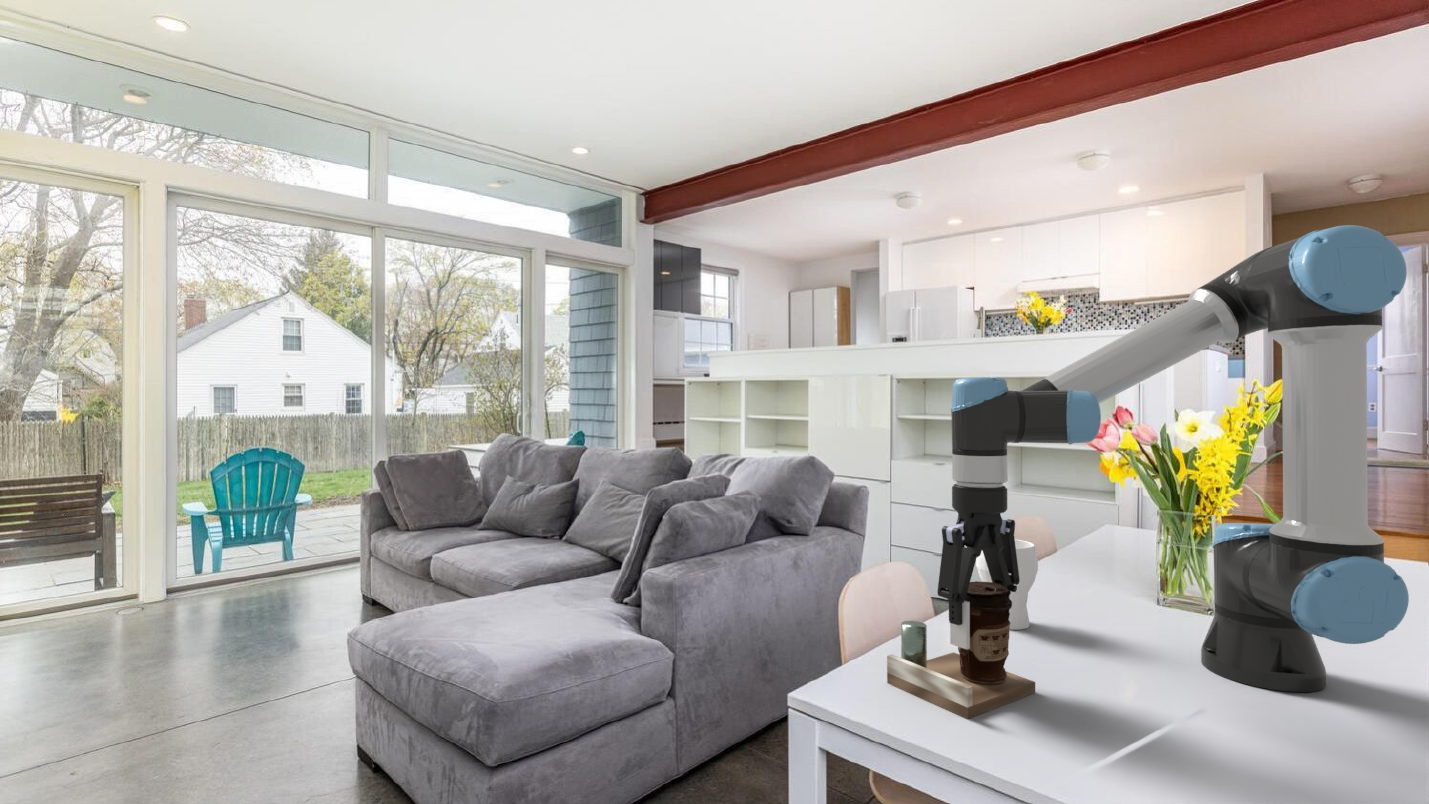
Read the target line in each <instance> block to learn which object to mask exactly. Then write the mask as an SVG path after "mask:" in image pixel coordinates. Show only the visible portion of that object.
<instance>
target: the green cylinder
mask: <svg viewBox="0 0 1429 804" xmlns="http://www.w3.org/2000/svg"><path fill="white" fill-rule="evenodd" d="M900 627H901V628H900V629H901V631H900V632H901V633H900V635H901V637H900V641H901V645H900V646H901V649H900V653H901V655H900V656H901V657H900V658H902V659H905V660H907V661H910V662H912V663H915V664H917V665H920V666H922V667H925V668H927V660H928V657H927V656H928V655H927V654H928V651H927V650H928V649H927V645H928V644H927V642H928V639H927V638H928V637H927V635H928V634H927V632H928V631H927V630H928V629H927V627H928V626H927V624H926V623H924V622H921V621H917V620H904V621H902V622H901V624H900Z"/></svg>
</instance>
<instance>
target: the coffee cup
mask: <svg viewBox="0 0 1429 804" xmlns="http://www.w3.org/2000/svg"><path fill="white" fill-rule="evenodd" d="M958 593H959V591H958ZM1010 594H1011V592H1010V590H1008V588H1007V587H1004V586H1001V585H999V584H996V583H992V582H982V581H976V580H975V581H970V584H969V588H968V591H967V595H966V599H965V601H967V602H970V649H964V648H961V647H958V646H957V650H958V654H960V657H959V660H960V666H961V667H960V671H961V674H962V676H963V677H964V678H966V679H967V680H970V681H973V682H978V683H999V682H1002V681H1004V680H1005V679H1006V677H1007V674H1006V672H1007V671H1006V668H1005V663H1006V660H1007V659H1008V657H1009V654H1010V652H1009V644H1010V643H1009V642H1010V629H1009V628H1010V624H1011V623H1010V621H1009V615H1010V613H1009V609H1010V608H1011V607H1012V601H1011V600H1010V598H1009V596H1010Z"/></svg>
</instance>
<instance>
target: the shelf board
mask: <svg viewBox="0 0 1429 804" xmlns="http://www.w3.org/2000/svg"><path fill="white" fill-rule="evenodd" d="M959 657H960V653H957V652H949V653H946V654H944V655H941V656H937V657H933V658H931V659H927V668H925V667H922V666H920V665H917V664H915V663H912V662H910V661H907V660H905V659H902V658H901V657H900V656H897V655H895V654H893V653H891V654H888V655H886V660H887V661H886V671H887V672H886V674H887V675H886V683H887V684H889V685H892V686H893V687H895V688H899V689H900V690H902V691H905V692H907V693H910V694H911V695H914V696H916V697H918V698H920V699H922V700H925V701H927V702H929V703H932V704H933V705H935V706H938V707H940V708H942V709H945V710H946V711H949V712H951V713H953V714H956V715H958V716H960V717H962V718H965V719H967V720H969V719H971V718H974V717H976V716H979V715H981V714H984V713H986V712H987V713H988V712H989V711H991V710H994V709H996V708H999V707H1002V706H1005V705H1007V704H1009V703H1013V702H1015V701H1018V700H1019V699H1022V698H1025V697H1027V696H1030V695H1033V694H1036V681H1034V680H1031V679H1029V678H1028V679H1027V678H1025V677H1023V676H1019V675H1017V674H1015V673H1012V672H1009V671H1006V674H1007V677H1006V679H1005V680H1004V681H1002V682H999V683H978V682H973V681H970V680H967V679H966V678H964V677H963V676H962V674H961V671H960V667H961V666H960V660H959Z"/></svg>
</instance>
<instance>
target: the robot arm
mask: <svg viewBox="0 0 1429 804" xmlns="http://www.w3.org/2000/svg"><path fill="white" fill-rule="evenodd" d="M1407 270H1408V269H1407V264H1406V260H1405V257H1404V255H1403V253H1402V252H1401V250H1400V248H1399V247H1398V246H1397V244H1396V243H1395V242H1394V241H1393V240H1392V239H1390V238H1387V237H1386V236H1385V235H1383V234H1382V232H1380V231H1378V230H1375V229H1373V228H1370V227H1367V226H1363V225H1362V226H1361V225H1356V224H1355V225H1353V224H1350V225H1349V224H1346V225H1345V224H1344V225H1337V226H1334V227H1330V228H1329V227H1328V228H1326V229H1316V230H1313V231H1311V232H1308V233H1306V234H1304V235H1303V236H1299V237H1297V238H1294V239H1291V240H1289V241H1286V242H1282V243H1279V244H1277V245H1274V246H1273V245H1272V246H1270V247H1267V248H1264V249H1263V250H1260V251H1258V252H1256V253H1254V254H1253V255H1250V256H1249V257H1247V258H1246V259H1243V260H1242V261H1241V262H1239V263H1238V264H1236V265H1234V266H1233V267H1231V268H1229V269H1228V270H1227V271H1225V272H1224V273H1222V274H1220V275H1219V276H1217V277H1215V278H1214V279H1212V280H1210V281H1208V282H1207V283H1205V284H1204V285H1201V286H1199V287H1198V288H1196V289H1195V290H1193V291H1192V292H1190V294H1189V297H1188V301H1186V302H1184V303H1182V304H1180V305H1179V306H1177V307H1175V308H1173V309H1171V310H1169V311H1167V312H1165V313H1164V314H1162V315H1160V316H1158V317H1156V318H1155V319H1152V320H1150V321H1149V322H1147V323H1145V324H1143V325H1141V326H1140V327H1137V328H1136V329H1134V330H1132V331H1130V332H1128V333H1126V334H1125V335H1123V336H1121V337H1119V338H1117V339H1115V340H1114V341H1112V342H1110V343H1108V344H1106V345H1104V346H1102V347H1100V348H1098V349H1096V350H1095V351H1093V352H1091V353H1089V354H1087V355H1086V356H1083V357H1082V358H1080V359H1078V360H1076V361H1074V362H1072V363H1070V364H1068V365H1066V366H1065V367H1062V368H1061V369H1059V370H1058V371H1055V372H1053V373H1052V374H1050V375H1047V376H1045V378H1043V379H1042V380H1040V381H1037V382H1035V383H1033V384H1031V385H1029V386H1028V387H1026V388H1024V389H1023V390H1009V387H1008V383H1007V380H1006V379H1005V378H1004V377H985V376H984V377H983V376H982V377H962V378H961V377H960V378H958V379H956V380H955V381H954V382H953V385H952V393H951V395H952V396H951V407H950V412H951V416H950V417H951V446H952V447H951V453H952V466H951V467H952V469H951V471H952V472H951V474H952V475H951V479H952V480H953V481H954V482H955V483H954V484H953V485H952V486H951V506H952V508H953V510H954V511H956V512H957V519H956V523H955V525H952V526H948V525H944V526H943V527H942V528H941V534H942V535H941V538H942V550H941V551H942V552H941V557H940V559H941V560H940V566H939V576H938V583H937V592H936V593H937V596H938V597H941V598H944V599H947V601H948V621H949V626H950V628H949V629H950V631H949V632H950V633H949V634H950V635H949V636H950V638H949V643H950V644H949V645H953V646H955V647H957V648H958V647H961V648H964V649H970V602H967V601H965V599H966V595H967V591H968V588H969V584H970V582H971V580H972V576H973V572H974V569H975V565H976V558H977V557H979V556H980V555H981V551H983V554H984V557H985V560H986V563H987V567H988V570H989V573H990V576H991V580H992V583H996V584H999V585H1001V586H1004V587H1007V588H1008V590H1010V591H1011V592H1016V590H1017V586H1015V585H1018V584H1019V581H1020V579H1019V571H1018V563H1017V555H1016V547H1015V539H1016V538H1015V530H1016V521H1015V520H1014V519H1008V518H1004V517H1002V516H1001V514H1004V513H1005V512H1007V510H1008V488H1007V487H1006V486H1005V485H1004V484H1005V483H1007V482H1008V477H1009V476H1008V475H1009V474H1008V472H1009V471H1008V443H1011V444H1019V443H1023V444H1025V443H1026V444H1027V443H1028V444H1068V445H1073V444H1084V443H1085V444H1086V443H1091V442H1093V441H1095V440H1096V438H1097V436H1098V434H1099V432H1100V428H1101V421H1102V417H1101V416H1102V415H1101V413H1102V412H1101V408H1100V404H1102V403H1103V402H1105V401H1107V400H1109V399H1110V398H1112V397H1115V396H1116V395H1119V394H1121V393H1122V392H1125V391H1126V390H1128V389H1130V388H1132V387H1134V386H1135V385H1137V384H1139V383H1141V382H1143V381H1145V380H1147V379H1149V378H1151V377H1153V376H1155V375H1157V374H1160V372H1163V371H1165V370H1166V369H1168V368H1170V367H1172V366H1174V365H1176V364H1178V363H1179V362H1181V361H1182V362H1183V361H1184V360H1186V359H1188V358H1190V357H1191V356H1193V355H1195V354H1197V353H1199V352H1201V351H1203V350H1205V349H1207V348H1208V347H1211V346H1212V345H1214V344H1216V343H1218V342H1219V343H1223V344H1231V343H1234V342H1235V341H1237V340H1239V339H1240V338H1243V337H1245V336H1248V335H1249V334H1253V333H1257V332H1259V331H1263V330H1266V329H1267V335H1268V336H1269V337H1270V338H1271V339H1273V340H1274V341H1275V342H1277V343H1278V344H1279V345H1280V346H1281V356H1282V358H1281V364H1282V365H1281V369H1282V370H1281V372H1282V374H1281V375H1282V377H1281V381H1282V383H1281V384H1282V385H1281V386H1282V388H1281V391H1282V393H1281V395H1282V401H1281V402H1282V512H1283V513H1282V518H1281V519H1280V521H1277V523H1252V522H1251V523H1249V522H1245V523H1242V522H1225V523H1220V524H1219V525H1217V526H1216V528H1215V530H1214V536H1213V537H1214V539H1213V543H1212V548H1213V581H1214V582H1213V583H1214V584H1213V585H1214V586H1213V587H1214V588H1213V589H1214V591H1213V593H1214V594H1213V595H1214V601H1213V602H1214V616H1213V619H1212V621H1211V623H1210V626H1209V627H1208V630H1207V633H1206V635H1205V639H1204V640H1203V642H1202V645H1201V649H1200V650H1201V651H1200V652H1201V653H1200V655H1201V656H1200V657H1201V658H1200V663H1201V664H1202V666H1203V667H1204V668H1206V669H1207V670H1209V671H1210V672H1213V673H1214V674H1215V675H1218V676H1221V677H1223V678H1226V679H1229V680H1231V681H1235V682H1238V683H1242V684H1244V685H1245V684H1246V685H1250V686H1252V687H1253V686H1254V687H1257V688H1263V689H1268V690H1275V691H1282V692H1292V693H1293V692H1296V693H1307V692H1317V691H1320V690H1323V689H1325V687H1326V686H1327V671H1326V670H1327V669H1326V666H1325V664H1324V662H1323V659H1322V656H1321V654H1320V652H1319V648H1318V645H1317V644H1316V641H1315V639H1314V636H1317V637H1319V638H1324V639H1327V640H1330V641H1333V642H1336V643H1341V644H1345V645H1347V644H1349V645H1359V644H1367V643H1371V642H1375V641H1377V640H1379V639H1381V638H1384V637H1385V635H1386V634H1387V633H1389V632H1390V631H1394V630H1395V629H1396V628H1397V627H1398V626H1399V625H1400V624H1401V623H1402V621H1403V619H1404V618H1405V616H1406V614H1407V611H1408V608H1409V601H1410V600H1409V599H1410V598H1409V596H1410V595H1409V591H1408V590H1409V589H1408V587H1407V584H1406V582H1405V580H1404V579H1403V577H1402V576H1401V575H1399V574H1398V573H1397V572H1396V570H1395V569H1394V568H1392V566H1390V565H1388V564H1387V563H1385V551H1384V550H1385V548H1384V547H1385V545H1384V543H1385V540H1384V538H1383V537H1382V535H1380V534H1378V533H1377V532H1376V531H1374V529H1372V528H1371V527H1370V526H1369V523H1368V522H1369V518H1368V517H1369V516H1368V514H1369V513H1368V509H1369V507H1368V506H1369V505H1368V503H1369V502H1368V490H1369V489H1368V380H1367V379H1368V375H1367V372H1368V371H1367V369H1368V367H1367V363H1368V362H1367V356H1368V355H1367V349H1368V348H1367V347H1368V345H1367V344H1368V342H1369V340H1371V339H1372V338H1373V337H1375V335H1376V334H1378V333H1379V332H1381V331H1382V330H1383V308H1385V307H1386V306H1388V305H1389V304H1391V303H1392V302H1393V301H1394V299H1395V297H1396V296H1398V295H1400V293H1401V292H1402V291H1403V288H1404V286H1405V284H1406V279H1407V274H1408V273H1407ZM1009 573H1011V575H1009ZM1014 584H1015V585H1014ZM958 591H959V593H958ZM1313 635H1314V636H1313Z"/></svg>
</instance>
